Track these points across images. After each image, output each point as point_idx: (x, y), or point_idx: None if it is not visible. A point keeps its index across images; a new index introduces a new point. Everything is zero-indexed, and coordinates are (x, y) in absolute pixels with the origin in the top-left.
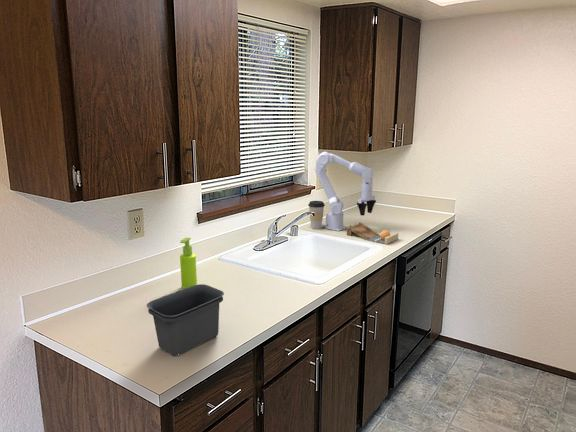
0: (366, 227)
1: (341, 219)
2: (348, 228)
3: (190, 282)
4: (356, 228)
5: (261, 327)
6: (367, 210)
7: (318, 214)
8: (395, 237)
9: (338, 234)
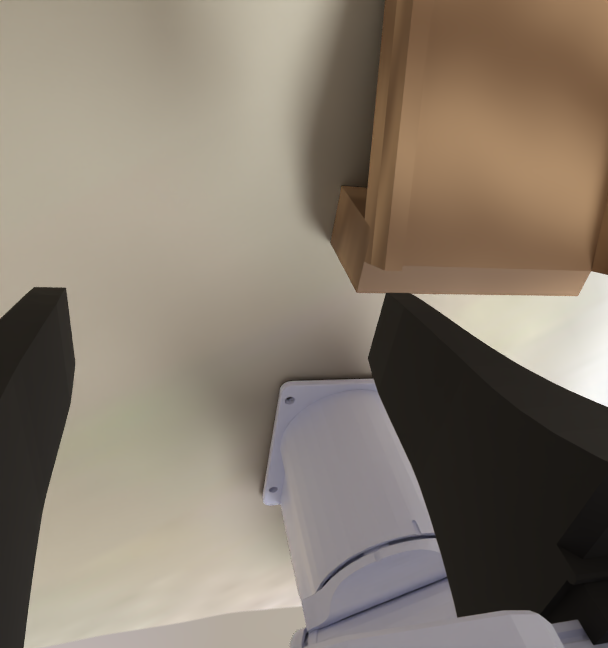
0: (418, 98)
1: (407, 477)
2: (587, 274)
3: None
4: (538, 200)
5: None
6: (67, 408)
7: None
8: None
9: (528, 320)
